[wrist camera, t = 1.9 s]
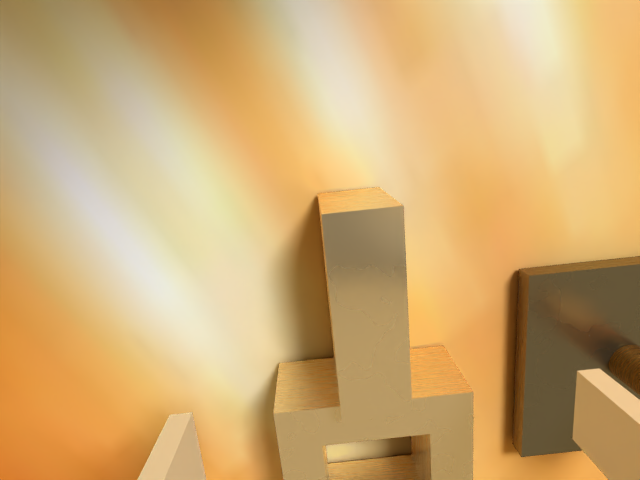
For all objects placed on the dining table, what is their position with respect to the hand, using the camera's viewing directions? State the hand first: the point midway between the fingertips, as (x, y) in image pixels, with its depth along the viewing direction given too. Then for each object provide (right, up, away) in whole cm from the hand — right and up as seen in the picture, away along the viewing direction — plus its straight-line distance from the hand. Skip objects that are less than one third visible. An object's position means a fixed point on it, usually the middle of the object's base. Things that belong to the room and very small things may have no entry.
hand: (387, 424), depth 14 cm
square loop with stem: (0, 0, +8) cm, 8 cm away
